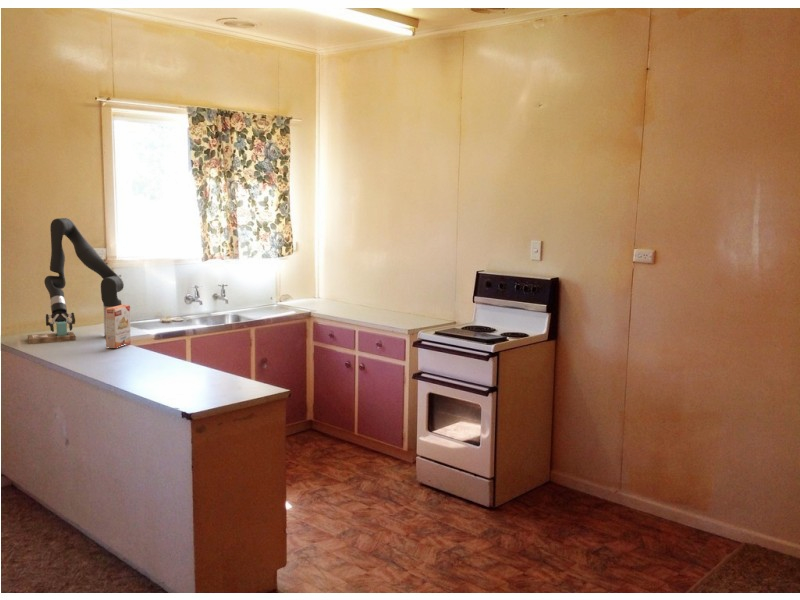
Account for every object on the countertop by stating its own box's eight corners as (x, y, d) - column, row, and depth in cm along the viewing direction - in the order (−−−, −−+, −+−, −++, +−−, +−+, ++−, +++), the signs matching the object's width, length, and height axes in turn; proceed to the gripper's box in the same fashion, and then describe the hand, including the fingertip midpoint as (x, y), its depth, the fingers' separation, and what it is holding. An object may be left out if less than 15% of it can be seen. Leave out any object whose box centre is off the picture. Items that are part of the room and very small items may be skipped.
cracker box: (116, 349, 370) (114, 309, 367) (105, 348, 371) (104, 308, 368) (131, 344, 383) (130, 305, 380) (121, 343, 384) (120, 304, 381)
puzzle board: (72, 337, 397) (72, 331, 396) (75, 341, 387) (75, 335, 386) (27, 340, 386) (27, 334, 385) (29, 345, 375) (29, 338, 375)
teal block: (66, 337, 392) (65, 321, 390) (67, 339, 388) (66, 322, 387) (57, 338, 389) (56, 322, 388) (58, 340, 386) (57, 323, 384)
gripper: (44, 302, 389) (47, 327, 381) (73, 301, 396) (76, 325, 388) (43, 310, 394) (46, 335, 386) (72, 309, 401) (75, 333, 393)
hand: (61, 330), depth 387 cm, fingers open, 8 cm apart
